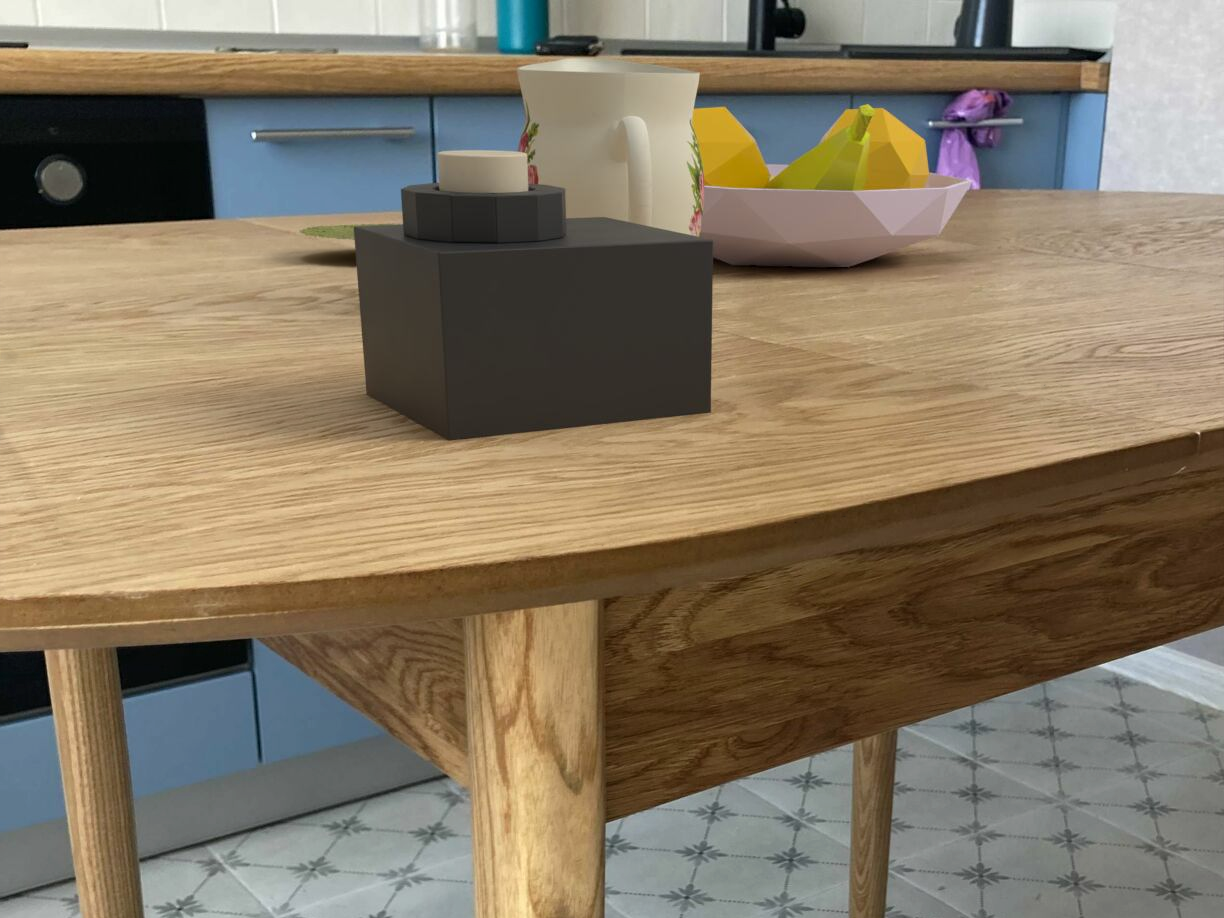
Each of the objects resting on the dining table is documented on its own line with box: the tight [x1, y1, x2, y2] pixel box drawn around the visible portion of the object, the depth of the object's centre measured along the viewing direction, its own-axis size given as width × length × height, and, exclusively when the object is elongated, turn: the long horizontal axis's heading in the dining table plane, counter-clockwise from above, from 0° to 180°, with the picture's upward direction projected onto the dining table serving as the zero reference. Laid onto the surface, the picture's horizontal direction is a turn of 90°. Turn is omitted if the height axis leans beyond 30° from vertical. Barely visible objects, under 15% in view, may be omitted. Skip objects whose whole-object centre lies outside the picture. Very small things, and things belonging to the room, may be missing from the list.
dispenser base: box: [354, 182, 714, 442], centre depth 66 cm, size 12×10×9 cm
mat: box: [299, 223, 401, 241], centre depth 113 cm, size 11×11×2 cm
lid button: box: [437, 149, 528, 193], centre depth 63 cm, size 4×4×2 cm
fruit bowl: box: [692, 103, 974, 268], centre depth 115 cm, size 28×27×11 cm
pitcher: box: [516, 57, 704, 237], centre depth 89 cm, size 11×18×14 cm, turn 14°
